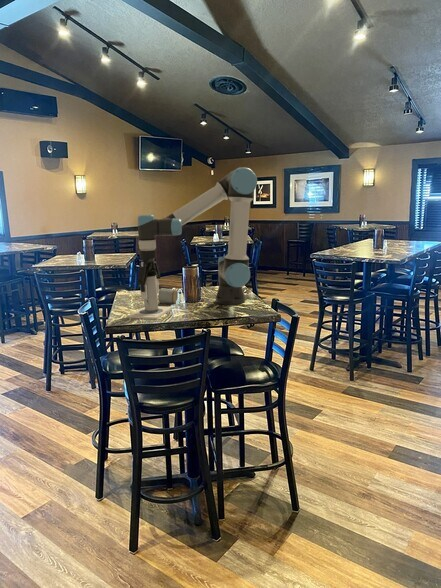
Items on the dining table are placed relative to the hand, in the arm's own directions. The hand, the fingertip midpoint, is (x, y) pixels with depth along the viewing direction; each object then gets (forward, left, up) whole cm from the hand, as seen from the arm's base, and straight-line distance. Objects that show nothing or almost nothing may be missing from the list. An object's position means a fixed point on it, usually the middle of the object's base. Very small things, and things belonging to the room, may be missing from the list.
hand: (150, 295), depth 201 cm
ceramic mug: (0, -22, -8) cm, 23 cm away
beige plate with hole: (0, 0, -8) cm, 8 cm away
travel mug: (0, 0, -8) cm, 8 cm away
